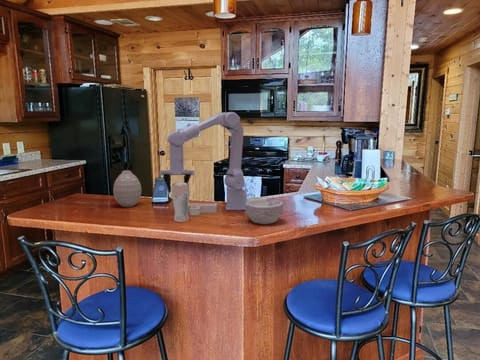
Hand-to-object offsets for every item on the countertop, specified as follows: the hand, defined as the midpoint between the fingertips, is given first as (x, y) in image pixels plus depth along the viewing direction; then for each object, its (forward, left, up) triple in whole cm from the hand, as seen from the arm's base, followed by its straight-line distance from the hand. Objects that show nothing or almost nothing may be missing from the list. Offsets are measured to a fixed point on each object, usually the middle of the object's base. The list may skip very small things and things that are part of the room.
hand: (177, 191), depth 159 cm
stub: (-7, 0, -10) cm, 12 cm away
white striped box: (-10, -6, -10) cm, 15 cm away
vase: (+27, -17, -10) cm, 33 cm away
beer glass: (-3, +9, -10) cm, 14 cm away
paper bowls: (-36, +12, -10) cm, 40 cm away
